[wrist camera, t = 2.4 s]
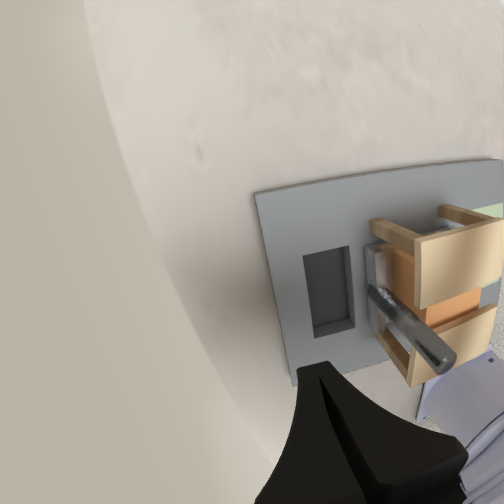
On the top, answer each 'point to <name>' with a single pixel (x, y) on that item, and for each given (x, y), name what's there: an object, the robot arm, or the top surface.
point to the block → (434, 313)
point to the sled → (402, 308)
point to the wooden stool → (448, 282)
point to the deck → (357, 250)
